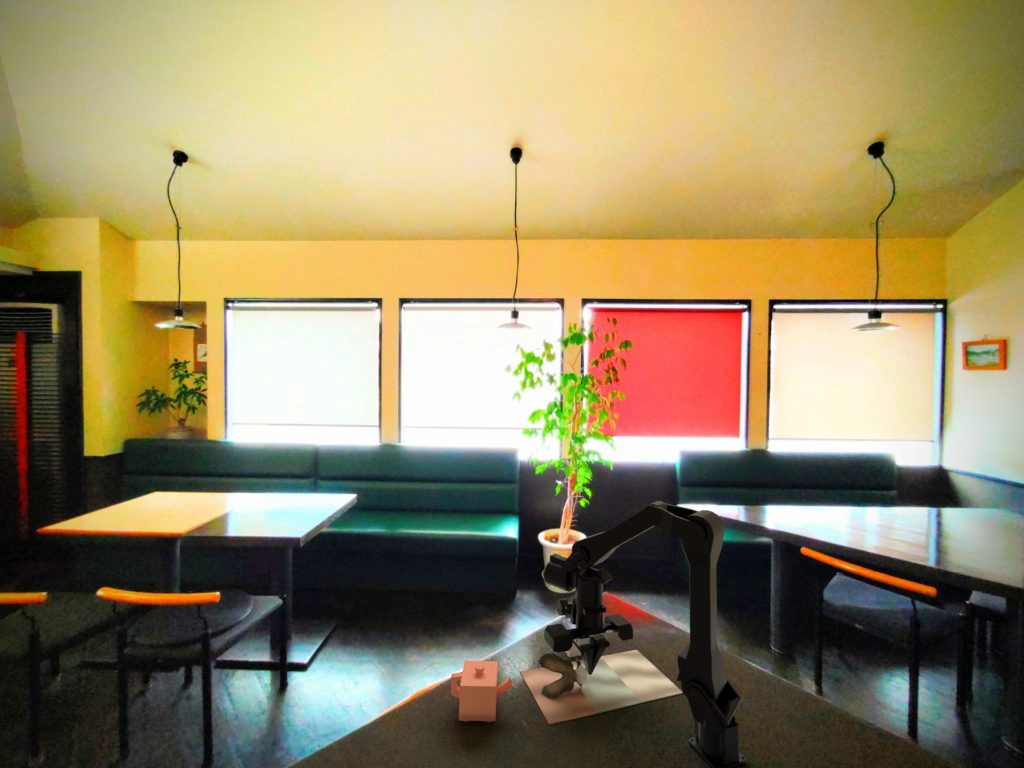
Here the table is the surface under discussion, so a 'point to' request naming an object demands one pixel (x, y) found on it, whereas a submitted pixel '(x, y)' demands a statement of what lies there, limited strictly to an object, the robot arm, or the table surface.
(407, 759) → the table surface
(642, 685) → the game mat
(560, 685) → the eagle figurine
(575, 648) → the die
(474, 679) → the pink cube teapot
